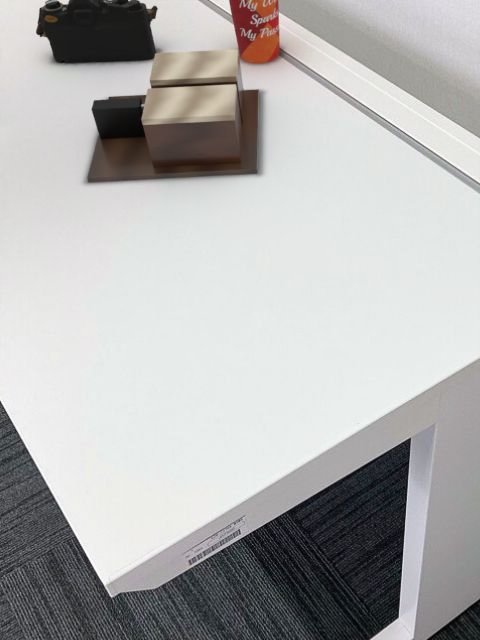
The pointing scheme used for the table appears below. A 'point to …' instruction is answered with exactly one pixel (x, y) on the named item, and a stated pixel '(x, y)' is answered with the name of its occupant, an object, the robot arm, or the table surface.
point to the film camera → (98, 30)
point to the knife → (119, 118)
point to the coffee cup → (256, 29)
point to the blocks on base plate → (187, 123)
